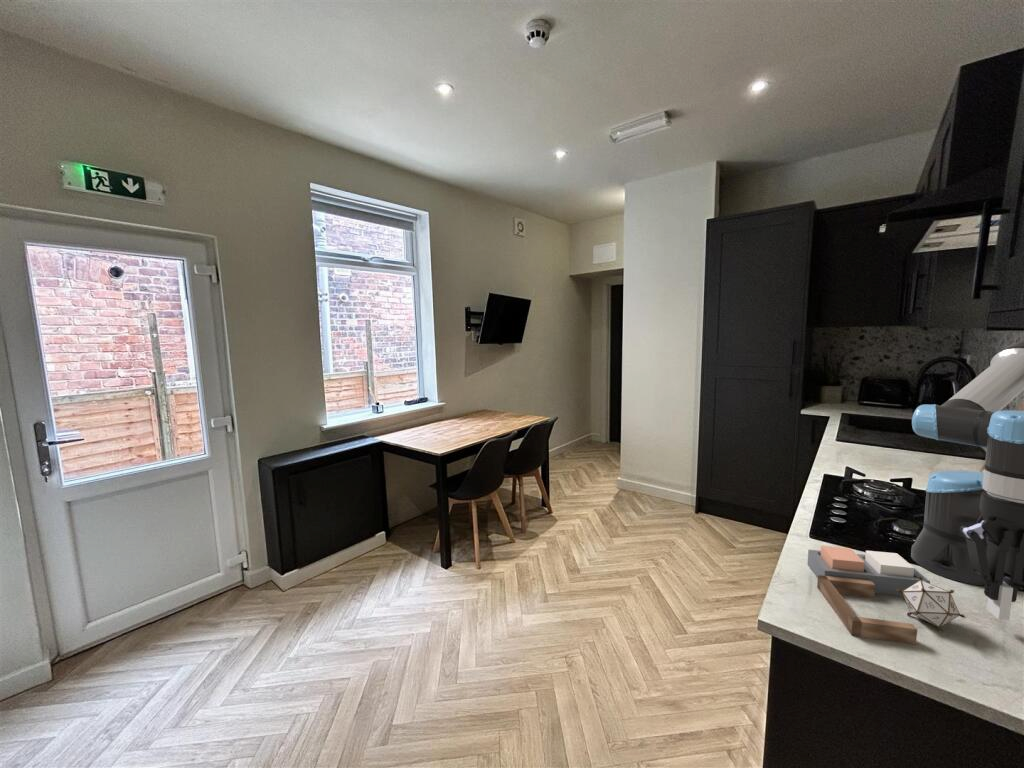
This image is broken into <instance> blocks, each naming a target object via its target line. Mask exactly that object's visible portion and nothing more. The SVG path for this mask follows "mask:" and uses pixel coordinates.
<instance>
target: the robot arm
mask: <svg viewBox="0 0 1024 768" xmlns="http://www.w3.org/2000/svg"><path fill="white" fill-rule="evenodd" d="M1022 392H1024V339H1022V340H1019V341H1017V342H1014V343H1012V344H1010V345H1008V346H1006V347H1005V348H1003V349H1001V350H999V352H998V353H996V354H995V355H994V356H993V357H992V358H991V360H990V365H989V366H988V367H987V368H986V369H985V370H983V371H982V372H981V373H979V374H978V375H977V376H975V378H974V379H972V380H971V381H970V382H968V384H966V385H965V386H964V387H962V388H961V389H960V390H959V391H957V393H954V395H952V397H950V398H949V399H948V400H946V401H945V402H943V403H942V404H941V405H938V404H935V403H934V404H927V403H926V404H925V403H924V404H920V405H919V406H917V407H916V409H915V410H914V412H913V415H912V417H911V426H912V430H913V432H914V433H915V434H916V435H918V436H920V437H924V438H927V439H928V438H929V439H934V440H936V441H943V442H950V443H954V444H961V445H967V446H975V447H979V448H980V447H981V448H984V449H986V450H985V459H984V460H985V461H984V470H983V472H981V471H972V470H971V471H969V470H941V471H936V472H933V473H932V474H930V475H929V477H928V482H927V486H926V488H925V493H926V494H925V495H926V496H925V504H924V516H923V517H924V518H923V528H922V530H921V531H920V533H919V535H918V536H917V538H916V539H915V541H914V543H913V544H912V545H911V551H910V552H911V553H910V557H911V559H912V560H913V561H914V562H915V563H916V564H917V565H919V566H920V567H922V568H924V569H926V570H927V571H929V572H932V573H933V574H937V575H939V576H941V577H944V578H947V579H951V580H954V581H957V582H962V583H966V584H970V585H978V586H984V590H983V593H984V595H985V596H986V597H987V603H986V610H987V611H988V612H989V614H991V615H993V616H994V617H995V618H997V619H998V620H1002V621H1003V620H1004V621H1009V620H1010V616H1011V615H1010V614H1011V607H1012V603H1015V602H1016V601H1017V599H1018V598H1017V596H1018V591H1023V590H1024V410H1015V409H1014V410H1013V409H1011V410H1010V409H1009V410H1003V409H1004V408H1005V407H1006V406H1007V405H1009V404H1010V403H1011V402H1012V401H1013V400H1015V398H1017V397H1018V396H1019V395H1020V394H1021V393H1022Z"/></svg>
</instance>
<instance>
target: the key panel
mask: <svg viewBox="0 0 1024 768" xmlns="http://www.w3.org/2000/svg"><path fill="white" fill-rule="evenodd" d="M807 552H808V553H807V566H808V567H809V569H810V570H811V571H812V573H813V574H814V575H815V577H816V578H817V579H818V575H822V576H832V577H841V578H850V579H859V580H869V581H872V582H873V583H874V584H875V594H882V595H883V594H885V595H893V596H899V597H900V596H901V597H904V596H903V594H902V593H901V592H898V591H897V590H896V589H899V590H901V591H903V590H905V589H907V588H908V587H910V586H911V585H913V584H915V583H916V582H918V581H919V580H920V579H919V578H918V577H919V575H920V576H921V577H922V580H923V581H925V582H928V583H930V584H931V581H930V579H929V578H927V577H926V576H924V575H923V574H922V573H921V572H919V571H918V570H917V569H916V568H915V567H914V577H906V576H896V575H886V574H879V573H878V572H877V571H876V570H875V569H874V568H873V567H872V566H871V565H870V564H869V563H868V562H867V561H866V560H865V555H866V554H861V553H860V554H859V553H856V554H857V555H858V556H859V557H860V558H861V559H862V560H863V561H864V562H865V563H864V572H857V571H848V570H838V569H831V568H830V567H829V566H828V565H827V564H826V562H825V561H824V560H823V559H822V558H821V556H820V555H821V550H816V549H815V550H814V549H808V551H807Z"/></svg>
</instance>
